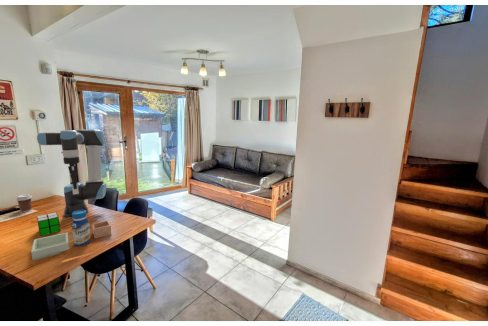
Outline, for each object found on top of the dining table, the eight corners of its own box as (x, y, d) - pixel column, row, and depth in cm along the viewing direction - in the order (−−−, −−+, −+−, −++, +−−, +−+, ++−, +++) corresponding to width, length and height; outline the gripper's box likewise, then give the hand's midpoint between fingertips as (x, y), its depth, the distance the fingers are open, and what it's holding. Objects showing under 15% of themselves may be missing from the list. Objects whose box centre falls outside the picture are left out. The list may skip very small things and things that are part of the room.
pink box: (93, 234, 147) (92, 223, 146) (109, 230, 152) (108, 220, 151) (94, 239, 140) (93, 229, 139) (111, 235, 145) (110, 225, 144)
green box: (35, 247, 131) (34, 239, 130) (68, 239, 140) (67, 232, 139) (32, 260, 119) (31, 251, 118) (69, 251, 128) (68, 242, 127)
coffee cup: (15, 211, 178) (12, 196, 176) (28, 207, 187) (26, 193, 185) (23, 213, 176) (20, 198, 174) (36, 208, 184) (34, 194, 182)
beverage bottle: (88, 238, 141) (85, 207, 137) (93, 243, 136) (90, 211, 132) (71, 244, 135) (67, 212, 131) (76, 249, 129) (72, 216, 126)
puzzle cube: (58, 226, 157) (56, 212, 155) (60, 231, 150) (58, 216, 148) (38, 230, 150) (36, 216, 148) (40, 236, 143) (37, 221, 141)
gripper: (62, 154, 144) (66, 187, 149) (63, 160, 125) (68, 197, 129) (77, 153, 149) (81, 185, 153) (80, 159, 130) (84, 195, 134)
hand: (75, 191), depth 141 cm, fingers open, 13 cm apart
